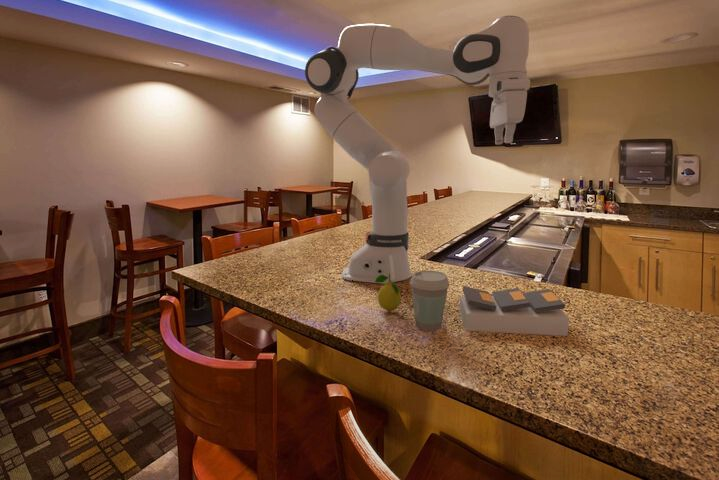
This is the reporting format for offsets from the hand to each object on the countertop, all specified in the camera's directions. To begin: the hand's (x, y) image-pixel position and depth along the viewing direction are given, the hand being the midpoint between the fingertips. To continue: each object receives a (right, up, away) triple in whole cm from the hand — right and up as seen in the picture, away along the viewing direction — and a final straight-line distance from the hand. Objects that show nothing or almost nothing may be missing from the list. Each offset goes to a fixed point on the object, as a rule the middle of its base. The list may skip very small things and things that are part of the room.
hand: (503, 143), depth 97 cm
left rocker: (-10, -39, -12) cm, 42 cm away
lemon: (-31, -43, -6) cm, 54 cm away
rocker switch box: (-4, -44, -12) cm, 46 cm away
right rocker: (+3, -39, -14) cm, 42 cm away
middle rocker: (-4, -39, -13) cm, 41 cm away
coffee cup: (-22, -45, -13) cm, 52 cm away
